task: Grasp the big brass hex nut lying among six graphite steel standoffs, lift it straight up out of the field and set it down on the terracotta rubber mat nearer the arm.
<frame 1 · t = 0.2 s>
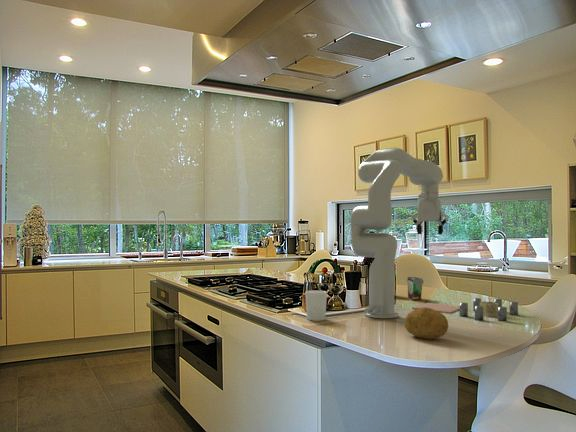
hand: (429, 234, 217), 31 cm above the countertop, fingers open, 9 cm apart
potato: (426, 338, 145), on the countertop
white cup: (315, 319, 174), on the countertop
standoff field: (489, 315, 184), on the countertop
brass nut: (489, 315, 184), on the countertop
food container: (416, 299, 225), on the countertop
terracotta mat: (438, 308, 199), on the countertop
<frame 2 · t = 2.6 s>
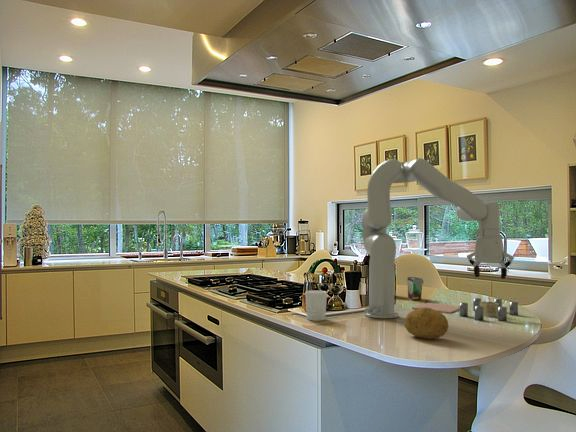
hand: (490, 277, 185), 15 cm above the countertop, fingers open, 9 cm apart
nothing on the countertop moved.
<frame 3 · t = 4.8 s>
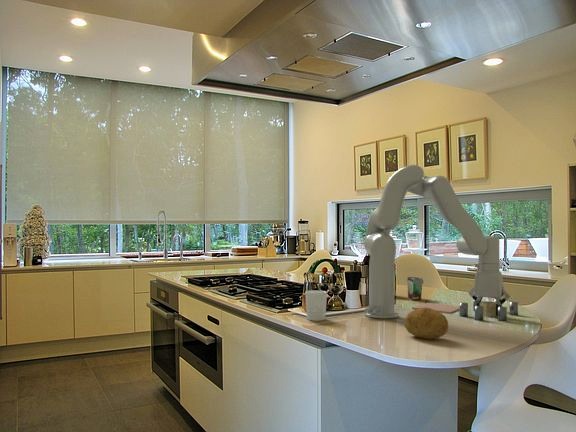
hand: (489, 313, 184), 1 cm above the countertop, fingers closed on brass nut, 6 cm apart
brass nut: (489, 315, 184), on the countertop, touching gripper
everything else where it was.
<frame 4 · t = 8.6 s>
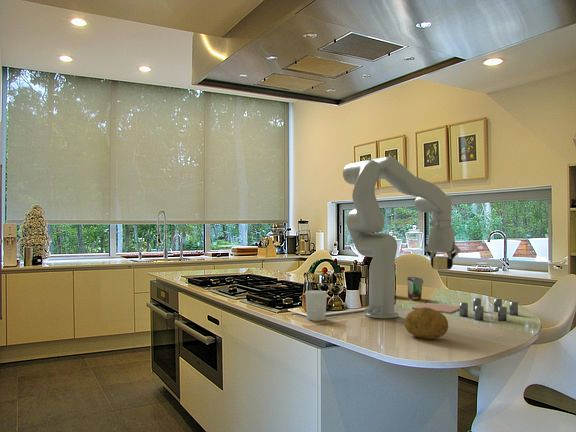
hand: (441, 267, 198), 17 cm above the countertop, fingers closed on brass nut, 6 cm apart
brass nut: (441, 269, 198), point 17 cm above the countertop, touching gripper
everything else where it was.
when the fingers open (3 cm above the countertop, at t = 12.6 s): brass nut drops 1 cm, resting on terracotta mat.
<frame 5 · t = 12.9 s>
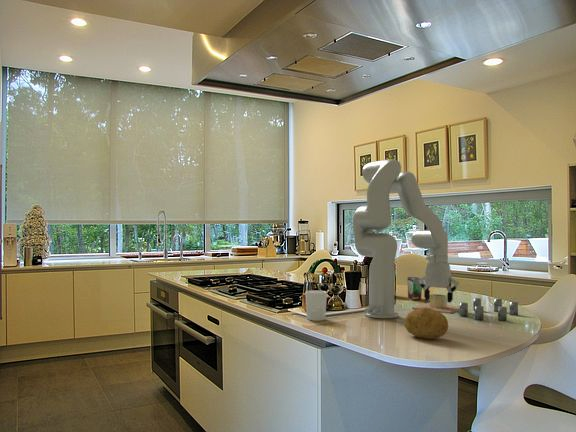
hand: (438, 300, 199), 3 cm above the countertop, fingers open, 9 cm apart
brass nut: (438, 307, 199), point 1 cm above the countertop, touching terracotta mat
everything else where it was.
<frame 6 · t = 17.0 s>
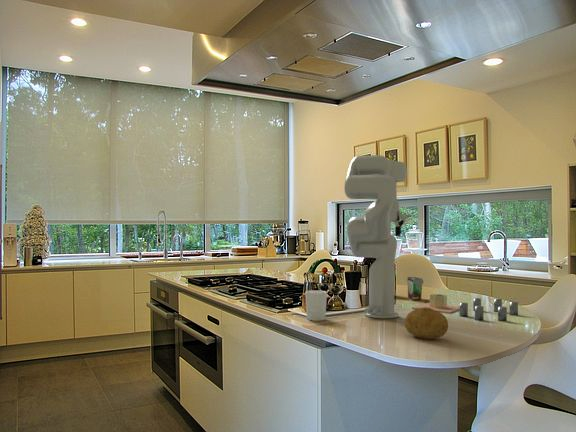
hand: (387, 235, 203), 30 cm above the countertop, fingers open, 9 cm apart
nothing on the countertop moved.
at the end: brass nut inside the target area on the terracotta mat (0.0 cm from its centre), point 0.6 cm above the terracotta mat's base; brass nut tilted 0°; the gripper is holding nothing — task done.
